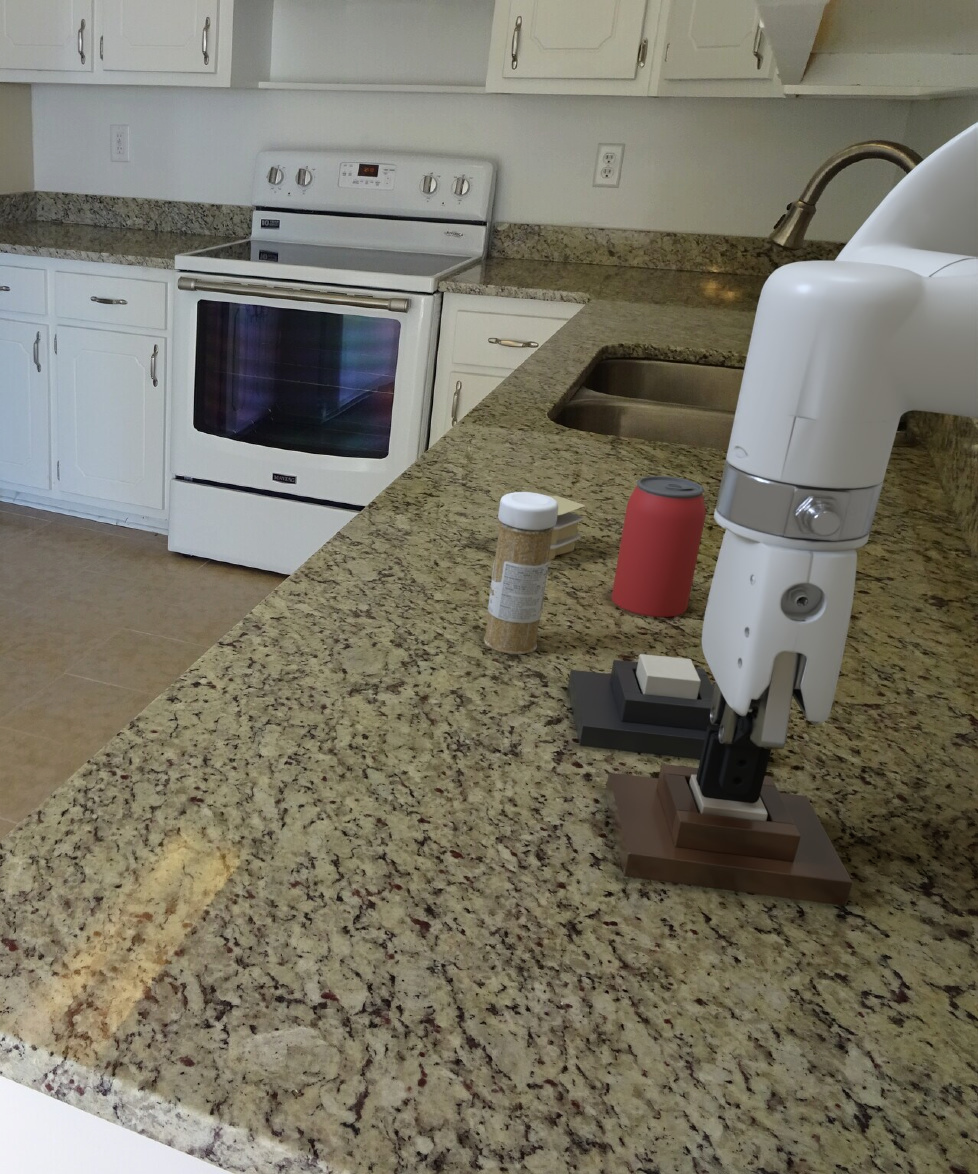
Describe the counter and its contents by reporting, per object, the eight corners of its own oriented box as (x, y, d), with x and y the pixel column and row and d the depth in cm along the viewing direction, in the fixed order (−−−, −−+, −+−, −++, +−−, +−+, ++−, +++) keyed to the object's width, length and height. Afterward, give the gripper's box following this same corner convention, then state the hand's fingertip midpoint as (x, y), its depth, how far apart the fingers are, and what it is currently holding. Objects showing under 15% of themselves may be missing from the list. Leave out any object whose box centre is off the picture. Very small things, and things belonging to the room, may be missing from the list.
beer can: (693, 625, 100) (719, 498, 95) (617, 620, 101) (639, 493, 96) (676, 597, 106) (700, 476, 101) (604, 592, 107) (624, 472, 102)
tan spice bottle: (487, 633, 98) (505, 487, 92) (540, 643, 96) (562, 494, 91) (477, 654, 94) (496, 502, 89) (533, 664, 92) (555, 510, 87)
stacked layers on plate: (537, 534, 122) (544, 486, 120) (605, 559, 115) (613, 509, 113) (472, 550, 117) (478, 500, 115) (538, 578, 110) (546, 525, 108)
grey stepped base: (729, 711, 85) (740, 665, 83) (759, 773, 77) (771, 723, 75) (566, 694, 87) (573, 648, 86) (578, 752, 79) (586, 703, 78)
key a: (747, 805, 69) (753, 780, 68) (762, 838, 65) (768, 813, 65) (685, 797, 69) (690, 773, 69) (697, 830, 66) (702, 805, 65)
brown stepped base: (799, 824, 71) (813, 771, 70) (844, 914, 63) (861, 856, 62) (603, 800, 74) (613, 748, 72) (622, 884, 65) (633, 827, 64)
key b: (686, 679, 82) (691, 658, 81) (696, 702, 79) (701, 680, 78) (635, 674, 83) (639, 653, 82) (643, 697, 79) (647, 675, 79)
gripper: (925, 556, 52) (832, 878, 59) (827, 469, 66) (761, 739, 73) (754, 542, 54) (683, 858, 61) (693, 459, 67) (640, 725, 74)
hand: (726, 792), depth 67 cm, fingers closed
